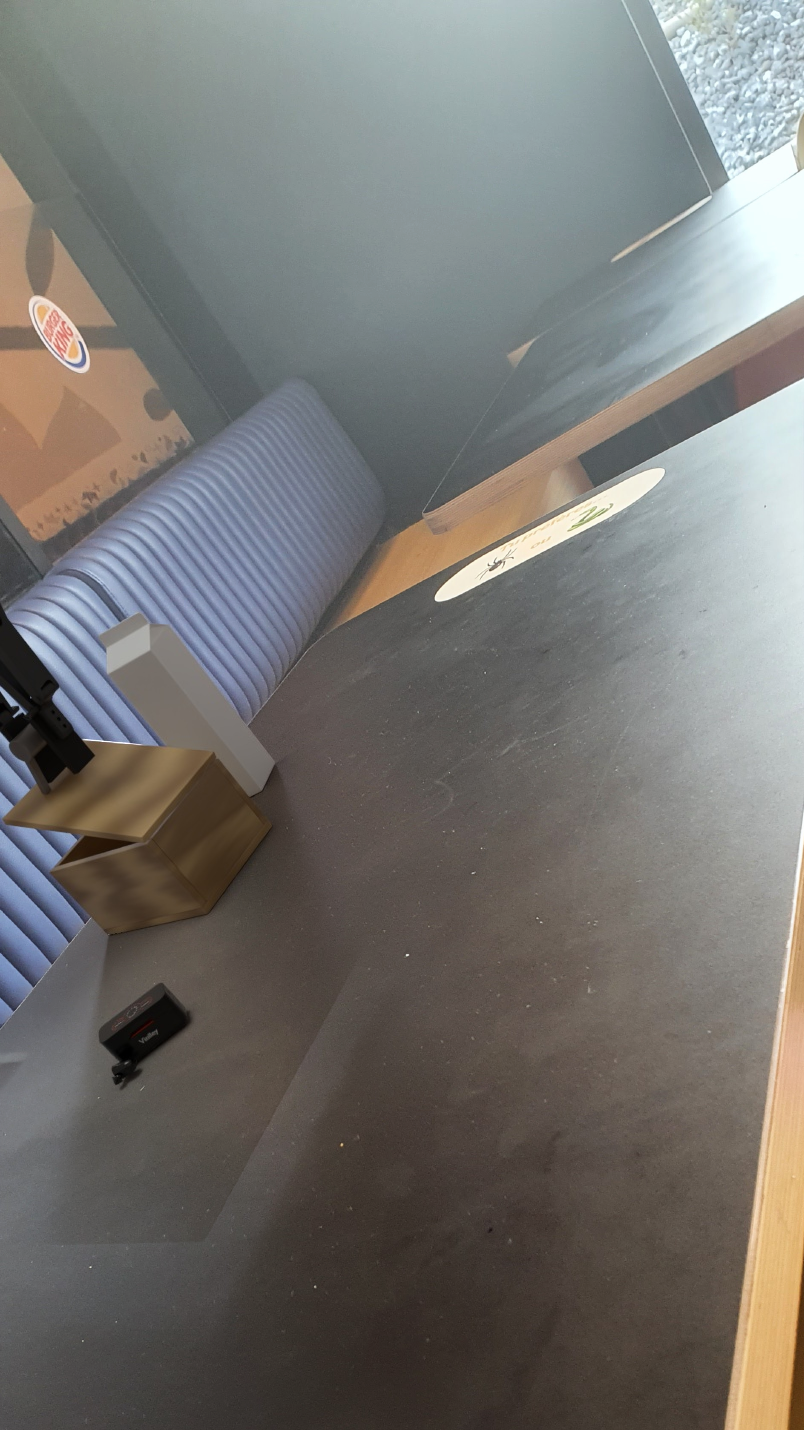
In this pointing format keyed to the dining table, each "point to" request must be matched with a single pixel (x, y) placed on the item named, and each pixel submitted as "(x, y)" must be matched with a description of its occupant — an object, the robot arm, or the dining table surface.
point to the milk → (182, 698)
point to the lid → (107, 788)
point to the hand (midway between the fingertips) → (70, 769)
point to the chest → (167, 859)
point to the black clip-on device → (141, 1028)
